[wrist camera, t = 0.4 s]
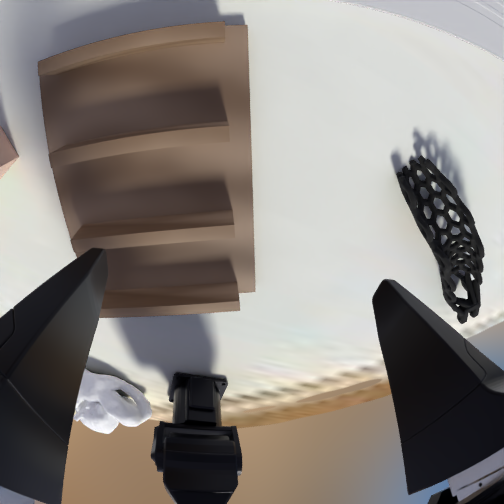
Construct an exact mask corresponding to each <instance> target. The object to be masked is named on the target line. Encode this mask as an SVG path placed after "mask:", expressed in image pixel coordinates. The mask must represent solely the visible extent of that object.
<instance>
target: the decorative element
mask: <svg viewBox="0 0 504 504" xmlns="http://www.w3.org/2000/svg"><path fill="white" fill-rule="evenodd" d="M418 160H419V162H420V164H419V163H416V162H415V160H411V161H410V163H409V164H410V165H411V170H408V168H407V167H406V166H405V167H404V168H402V171H403V173H402V172H398V173H397V174H396V175H397V178H398V182H399V185H400V188H401V191H402V194H403V196H404V198H405V200H406V202H407V204H408V206H409V208H410V210H411V212H412V214H413V216H414V219H415V221H416V224H417V226H418V227H419V229H420V231H421V233H422V235H423V236H424V238H425V239H426V241H427V243H428V244H429V246H430V248H431V249H432V252H433V254H434V256H435V258H436V260H437V261H438V263H439V265H440V275H441V282H442V289H443V293H444V294H443V296H444V298H445V300H446V302H447V303H448V305H449V306H451V308H452V309H453V311H455V312H457V319H458V321H459V322H460V323H461V324H463V323H465V322H467V317H468V313H470V315H471V316H472V317H473V318H474V317H476V316H477V315H478V313H479V308H480V306H481V302H480V285H481V284H482V276H481V273H482V272H483V262H482V258H483V257H484V247H483V244H482V242H481V239H480V237H479V235H478V232H477V230H476V227H475V225H474V224H475V221H474V218H473V216H472V214H471V212H470V211H469V209H468V208H467V207H466V206H465V205H464V203H463V202H462V201H461V199H460V198H459V196H458V195H457V190H456V188H455V187H454V186H453V184H452V183H451V182H450V181H449V180H448V179H447V178H446V177H445V176H444V175H443V174H442V173H441V172H440V171H439V170H438V169H437V167H436V166H435V165H434V164H433V163H432V162H431V161H430V160H429V159H427V160H426V159H425V158H424V157H423V156H420V157H419V158H418ZM426 167H427V168H428V169H429V170H430V171H432V173H433V174H434V175H433V174H431V173H430V172H429V170H428V169H427V168H426ZM417 170H419V171H422V173H423V174H424V175H425V177H426V179H425V181H421V180H420V179H419V178H418V176H417ZM409 177H411V178H412V180H413V181H414V183H415V185H414V189H413V188H411V185H410V183H409ZM431 181H433V182H435V183H437V184H438V185H439V187H440V188H441V192H438V191H434V189H433V188H432V186H431V185H430V184H431ZM421 187H425V188H426V189H427V191H428V192H429V197H428V199H423V198H422V196H421V194H420V188H421ZM446 194H448V195H449V196H451V197H452V198H453V199H454V201H455V203H456V204H457V205H455V204H453V203H451V202H450V201H449V200H448V198H447V197H446ZM434 198H439V199H441V200H442V202H443V203H444V205H445V206H444V209H443V210H442V209H437V208H436V207H435V205H434V203H433V202H434ZM416 200H417V201H418V207H417V201H416ZM424 206H428V207H429V208H430V210H431V212H432V214H431V218H430V219H427V218H426V216H425V214H424V212H423V211H424ZM449 209H451V210H453V211H455V212H457V214H458V216H459V217H460V221H459V222H457V221H454V220H452V219H451V217H450V215H449V213H448V212H449ZM464 214H465V215H466V216H465V215H464ZM437 215H440V216H443V217H444V218H445V220H446V221H447V227H446V229H440V228H439V226H438V224H437V223H436V218H437ZM464 224H466V225H467V226H468V227H469V228H470V231H471V233H472V234H471V233H469V232H467V230H466V229H465V227H464ZM429 225H431V226H432V227H433V229H434V231H435V239H434V238H433V237H434V236H433V233H432V231H431V229H430V227H429ZM452 226H454V227H456V228H459V230H460V233H459V234H458V235H452V233H451V229H452ZM441 235H446V236H447V240H446V242H445V243H444V244H443V245H442V243H441ZM464 237H466V238H467V239H469V240H470V241H466V240H463V238H464ZM452 241H456V242H454V243H453V244H451V243H452ZM460 245H462V246H463V247H459V246H460ZM471 247H473V249H474V250H473V249H472V248H471ZM466 251H467V252H468V253H469V254H470V255H467V254H465V253H463V252H466ZM455 253H456V254H455ZM454 254H455V255H454ZM453 255H454V256H453ZM460 257H461V258H463V260H457V259H459V258H460ZM471 261H472V262H473V263H472V262H471ZM465 264H467V265H468V266H469V267H470V268H468V267H466V266H464V265H465ZM455 265H458V266H456V267H455V268H453V267H454V266H455ZM452 268H453V269H452ZM459 270H463V271H465V276H463V275H462V274H461V273H459V272H458V271H459ZM470 273H471V274H472V275H473V277H474V278H475V280H472V281H471V277H470ZM451 274H454V275H456V276H457V277H459V278H460V279H461V283H462V286H463V287H464V289H465V290H466V291H467V294H468V299H464V298H458V297H456V296H455V294H454V293H453V292H454V291H455V290H456V284H455V282H454V281H453V279H452V278H451V277H450V276H451ZM456 304H458V305H460V306H459V307H457V306H456Z"/></svg>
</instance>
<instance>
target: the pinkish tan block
mask: <svg viewBox="0 0 504 504" xmlns="http://www.w3.org/2000/svg"><path fill="white" fill-rule="evenodd" d="M18 157H19V156H18V154H17V153H16V151H15V150H14V148H13V146H12V145H11V143H10V141H9V140H8V138H7V136H6V134H5V133H4V131H3V129H2V127H1V126H0V179H1V178H2V176H3V175H4V174H5V173H6V171H7V170H8V169H9V168H10V167H11V165H12V164H13V163H14V162H15V161H16V160H17V158H18Z"/></svg>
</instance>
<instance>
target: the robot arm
mask: <svg viewBox="0 0 504 504" xmlns="http://www.w3.org/2000/svg"><path fill="white" fill-rule="evenodd" d="M107 279H108V264H107V254H106V250H105V249H103V248H96V247H93V248H91V249H89V250H88V251H86V252H85V253H83V254H82V255H81V256H79V257H78V258H76V259H75V260H74V261H72V262H71V263H70V264H68V265H67V266H65V267H64V268H63V269H61V270H60V271H59V272H57V273H56V274H55V275H53V276H52V277H51V278H49V279H48V280H47V281H46V282H44V283H43V284H42V285H40V286H39V287H38V288H37V289H35V290H34V291H33V292H31V293H30V294H29V295H28V296H26V297H25V298H24V299H23V300H22V301H20V302H19V303H18V304H17V305H15V306H14V307H13V309H10V310H9V311H8V312H7V313H6V314H5V315H3V316H2V317H1V318H0V504H34V501H35V500H38V501H40V502H43V503H46V504H61V501H62V488H63V479H64V472H65V464H66V457H67V451H68V446H67V445H68V444H69V438H70V432H71V427H72V422H73V417H74V412H75V407H76V403H77V398H78V394H79V389H80V385H81V381H82V377H83V373H84V369H85V366H86V362H87V358H88V355H89V351H90V348H91V344H92V341H93V337H94V334H95V331H96V328H97V324H98V321H99V316H100V311H101V306H102V301H103V297H104V292H105V288H106V283H107ZM372 304H373V309H374V314H375V320H376V326H377V332H378V338H379V342H380V346H381V350H382V354H383V358H384V362H385V366H386V371H387V375H388V379H389V384H390V388H391V393H392V397H393V402H394V407H395V412H396V417H397V423H398V428H399V434H400V439H401V443H402V444H401V446H402V453H403V460H404V466H405V474H406V482H407V491H408V494H409V495H411V494H413V493H416V492H418V491H421V490H423V489H426V488H428V487H431V486H433V485H435V484H437V483H439V482H442V481H444V480H446V479H447V480H448V483H449V487H447V488H446V489H444V490H442V491H440V492H438V493H436V494H434V495H431V498H430V500H429V502H428V504H504V371H503V370H502V369H501V368H500V367H498V366H497V365H496V364H495V363H494V362H492V361H491V360H490V359H489V358H487V357H486V356H485V355H484V354H483V353H481V352H480V351H479V350H478V349H477V348H475V347H474V346H473V345H472V344H471V343H470V342H468V341H467V340H466V339H465V338H463V336H462V335H460V334H459V333H458V332H457V331H456V330H455V329H454V328H452V327H451V326H450V325H449V324H448V323H446V322H445V321H444V320H443V319H442V318H441V317H439V316H438V315H437V314H436V313H435V312H433V311H432V310H431V309H430V308H429V307H427V306H426V305H425V304H424V303H422V302H421V301H420V300H419V299H418V298H416V297H415V296H414V295H413V294H411V293H410V292H409V291H408V290H406V289H405V288H404V287H403V286H401V285H400V284H399V283H397V282H396V281H395V280H390V279H384V280H383V281H382V282H381V283H380V285H379V287H378V289H377V290H376V292H375V294H374V295H373V299H372ZM227 385H228V381H227V380H225V379H217V378H209V377H201V376H194V375H187V374H181V373H175V374H174V376H173V381H172V386H171V391H170V396H169V401H170V402H173V421H172V423H166V422H164V421H160V425H159V426H157V427H155V429H154V440H153V446H152V451H151V458H152V459H153V461H154V462H155V464H156V466H157V471H158V472H163V482H164V485H165V489H166V491H167V492H168V494H169V495H170V497H171V498H172V500H173V501H174V503H175V504H227V502H228V501H229V499H230V497H231V496H232V494H233V492H234V491H235V489H236V487H237V485H238V476H237V475H240V474H241V471H242V453H241V447H240V443H239V438H238V433H237V428H236V426H231V427H228V426H222V423H221V406H220V400H221V398H222V396H223V394H224V392H225V390H226V387H227Z"/></svg>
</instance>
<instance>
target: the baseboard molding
mask: <svg viewBox="0 0 504 504" xmlns="http://www.w3.org/2000/svg"><path fill="white" fill-rule="evenodd" d="M328 1H334V2H340V3H345V4H350V5H355V6H360V7H364V8H369V9H373V10H377V11H381V12H385V13H388V14H392V15H395V16H399V17H402V18H405V19H408V20H411V21H414V22H417V23H420V24H423V25H426V26H429V27H431V28H434V29H437V30H439V31H442V32H444V33H447V34H449V35H451V36H454V37H456V38H458V39H461V40H463V41H465V42H467V43H469V44H472V45H474V46H476V47H478V48H480V49H482V50H484V51H486V52H488V53H490V54H491V55H493V56H495V57H497V58H499V59H501V60H502V61H504V0H328Z"/></svg>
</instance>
